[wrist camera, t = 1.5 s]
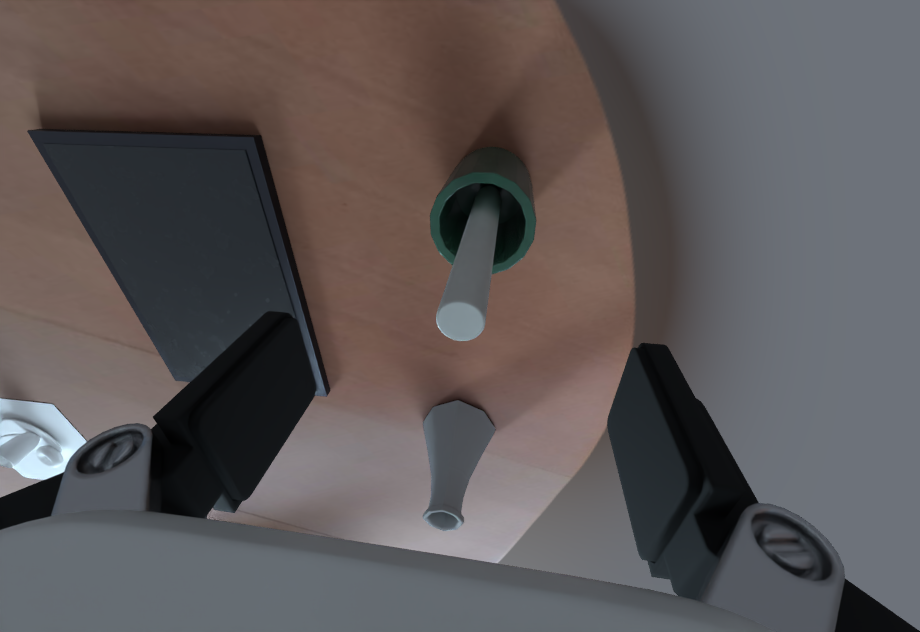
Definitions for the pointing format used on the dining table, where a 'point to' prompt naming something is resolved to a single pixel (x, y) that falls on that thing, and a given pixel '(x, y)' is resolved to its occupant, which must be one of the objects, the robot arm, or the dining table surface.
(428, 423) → the flask
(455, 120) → the dining table surface
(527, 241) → the pen holder
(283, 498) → the dining table surface
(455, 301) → the stylus
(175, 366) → the tablet
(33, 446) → the teacup and saucer
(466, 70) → the dining table surface
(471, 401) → the dining table surface
